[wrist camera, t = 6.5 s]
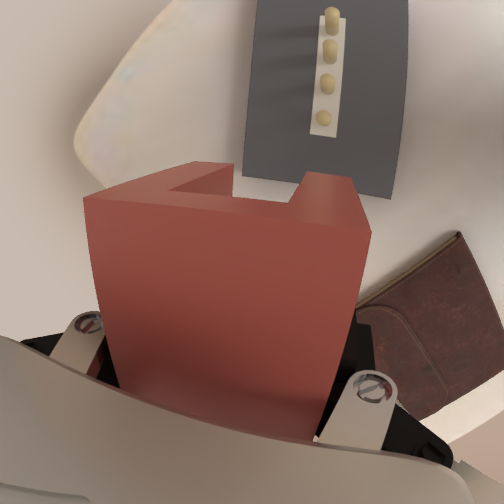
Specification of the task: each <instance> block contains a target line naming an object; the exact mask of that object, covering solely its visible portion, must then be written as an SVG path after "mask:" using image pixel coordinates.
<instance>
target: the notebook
mask: <svg viewBox="0 0 504 504" xmlns="http://www.w3.org/2000/svg"><path fill="white" fill-rule="evenodd" d="M457 234H458V236H459V237H458V236H457V235H455V236H454V237H452V238H451V239H450V240H448V241H447V242H446V243H444V244H443V245H442V246H440V247H439V248H438V249H436V250H435V251H434V252H432V253H431V254H430V255H428V256H427V257H426V258H424V259H423V260H421V261H420V262H419V263H417V264H416V265H414V266H413V267H412V268H410V269H409V270H407V271H406V272H405V273H403V274H402V275H400V276H399V277H397V278H396V279H394V280H393V281H392V282H390V283H389V284H387V285H386V286H384V287H383V288H381V289H380V290H378V291H377V292H375V293H374V294H372V295H370V296H369V297H367V298H366V299H364V300H363V301H361V302H360V303H358V304H357V305H356V317H357V323H362V324H370V325H371V331H372V339H373V348H374V358H375V369H376V371H378V372H381V373H383V374H385V375H387V376H388V377H390V378H391V379H392V380H393V382H394V383H395V384H396V387H397V390H398V393H397V399H398V400H399V401H400V402H401V404H402V405H403V406H404V407H405V408H406V410H407V411H408V412H409V413H410V414H411V416H412V417H414V418H415V419H416V420H417V421H420V420H422V419H424V418H426V417H428V416H430V415H432V414H434V413H436V412H437V411H439V410H440V409H441V408H443V407H444V406H446V405H448V404H449V403H451V402H453V401H455V400H457V399H458V398H460V397H462V396H463V395H465V394H467V393H468V392H470V391H472V390H473V389H475V388H477V387H478V386H480V385H481V384H483V383H484V382H486V381H488V380H489V379H491V378H492V377H494V376H495V375H497V374H498V373H499V372H501V371H502V370H504V329H503V326H502V323H501V321H500V318H499V315H498V313H497V310H496V307H495V305H494V302H493V300H492V298H491V295H490V293H489V290H488V288H487V286H486V283H485V281H484V279H483V277H482V275H481V272H480V270H479V268H478V266H477V264H476V262H475V260H474V258H473V256H472V254H471V252H470V250H469V248H468V246H467V244H466V242H465V240H464V238H463V236H462V234H461V232H459V231H458V232H457Z"/></svg>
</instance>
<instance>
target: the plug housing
mask: <svg viewBox="0 0 504 504" xmlns="http://www.w3.org/2000/svg"><path fill="white" fill-rule="evenodd" d="M233 168H234V164H228V163H214V162H197V161H194V162H191V163H187V164H184V165H180V166H177V167H173V168H170V169H166V170H163V171H160V172H157V173H153V174H150V175H147V176H144V177H141V178H138V179H135V180H131V181H128V182H125V183H123V184H120V185H117V186H114V187H111V188H108V189H105V190H103V191H100V192H97V193H94V194H92V195H89V196H86V197H84V198H83V202H84V213H85V223H86V230H87V239H88V246H89V253H90V260H91V266H92V271H93V278H94V284H95V289H96V294H97V299H98V304H99V309H100V313H101V318H102V322H103V327H104V331H105V335H106V339H107V343H108V347H109V351H110V354H111V358H112V362H113V365H114V369H115V372H116V375H117V379H118V382H119V385H120V388H121V390H124V391H126V392H129V393H131V394H134V395H137V396H139V397H142V398H145V399H147V400H150V401H153V402H156V403H159V404H162V405H165V406H168V407H170V408H174V409H177V410H180V411H183V412H186V413H189V414H193V415H196V416H199V417H203V418H206V419H210V420H214V421H217V422H221V423H225V424H229V425H233V426H237V427H241V428H245V429H249V430H254V431H258V432H263V433H268V434H273V435H278V436H283V437H289V438H295V439H301V440H306V441H313V438H314V436H315V433H316V430H317V428H318V425H319V422H320V420H321V417H322V414H323V411H324V408H325V406H326V403H327V400H328V397H329V394H330V391H331V388H332V385H333V382H334V379H335V376H336V373H337V369H338V366H339V363H340V360H341V356H342V353H343V350H344V346H345V343H346V339H347V336H348V332H349V329H350V325H351V321H352V317H353V314H354V310H355V306H356V302H357V298H358V294H359V290H360V285H361V281H362V277H363V272H364V268H365V263H366V258H367V254H368V249H369V244H370V239H371V233H372V231H371V229H370V226H369V223H368V220H367V218H366V215H365V212H364V209H363V207H362V204H361V201H360V199H359V196H358V194H357V191H356V189H355V186H354V184H353V181H352V179H351V177H345V176H338V175H331V174H324V173H316V172H308V171H307V172H306V174H305V176H304V177H303V179H302V181H301V182H300V184H299V186H298V187H297V189H296V191H295V192H294V194H293V196H292V197H291V199H290V201H289V202H288V203H282V202H274V201H266V200H257V199H249V198H240V197H232V190H233Z"/></svg>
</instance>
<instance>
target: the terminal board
mask: <svg viewBox="0 0 504 504" xmlns="http://www.w3.org/2000/svg"><path fill="white" fill-rule="evenodd" d="M407 60H408V0H258V3H257V12H256V22H255V33H254V43H253V53H252V64H251V75H250V86H249V97H248V109H247V120H246V132H245V144H244V157H243V169H242V176H246V177H254V178H262V179H270V180H277V181H285V182H292V183H299V184H300V182H301V181H302V179H303V177H304V176H305V174H306V172H307V171H308V172H316V173H324V174H331V175H338V176H345V177H351V179H352V181H353V184H354V186H355V189H356V191H357V193H359V194H365V195H370V196H375V197H380V198H385V199H390V200H391V195H392V190H393V184H394V178H395V172H396V166H397V160H398V153H399V146H400V139H401V131H402V122H403V113H404V103H405V92H406V78H407Z"/></svg>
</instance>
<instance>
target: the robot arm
mask: <svg viewBox="0 0 504 504" xmlns="http://www.w3.org/2000/svg"><path fill="white" fill-rule="evenodd" d="M397 393H398V390H397V387H396V384H395V383H394V382H393V380H392V379H391V378H390V377H388V376H387V375H385V374H383V373H381V372H378V371H376V369H375V358H374V348H373V339H372V331H371V325H370V324H362V323H357V317H356V306H355V310H354V314H353V317H352V321H351V325H350V329H349V332H348V336H347V339H346V343H345V346H344V350H343V353H342V356H341V360H340V363H339V366H338V369H337V373H336V376H335V379H334V382H333V385H332V388H331V391H330V394H329V397H328V400H327V403H326V406H325V408H324V411H323V414H322V417H321V420H320V422H319V425H318V428H317V430H316V433H315V435H316V436H317V437H318V440H317V442H313V441H306V440H301V439H295V438H289V437H283V436H278V435H273V434H268V433H263V432H258V431H254V430H249V429H245V428H241V427H237V426H233V425H229V424H225V423H221V422H217V421H214V420H210V419H206V418H203V417H199V416H196V415H193V414H189V413H186V412H183V411H180V410H177V409H174V408H170V407H168V406H165V405H162V404H159V403H156V402H153V401H150V400H147V399H145V398H142V397H139V396H137V395H134V394H131V393H129V392H126V391H124V390H121V388H120V385H119V382H118V379H117V375H116V372H115V369H114V365H113V362H112V358H111V354H110V351H109V347H108V343H107V339H106V335H105V331H104V327H103V322H102V318H101V313H100V312H99V311H90V312H85V313H83V314H80V315H78V316H77V317H75V318H74V319H73V320H72V322H71V323H70V325H69V326H68V327H67V329H66V331H65V332H64V333H60V334H54V335H48V336H43V337H37V338H32V339H26V340H23V341H21V342H18V341H15V340H13V339H10V338H7V337H3V336H0V504H504V486H503V485H502V484H500V483H498V482H496V481H495V480H493V479H491V478H490V477H488V476H486V475H485V474H483V473H482V472H480V471H478V470H477V469H475V468H473V467H472V466H470V465H468V464H467V463H465V462H464V461H462V460H461V461H460V462H459V463H457V462H456V461H454V460H453V453H452V451H451V449H450V447H449V446H448V445H447V444H446V443H445V442H444V441H443V440H442V439H441V438H439V437H438V436H437V435H435V434H434V433H433V432H431V431H430V430H429V429H428V428H426V427H425V426H424V425H422V424H421V423H420V422H419V421H417V420H416V419H415V418H414V417H412V416H411V415H410V414H408V413H407V412H406V411H405V410H403V409H402V408H401V407H400V406H398V405H397V404H396V403H395V402H396V399H397Z"/></svg>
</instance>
